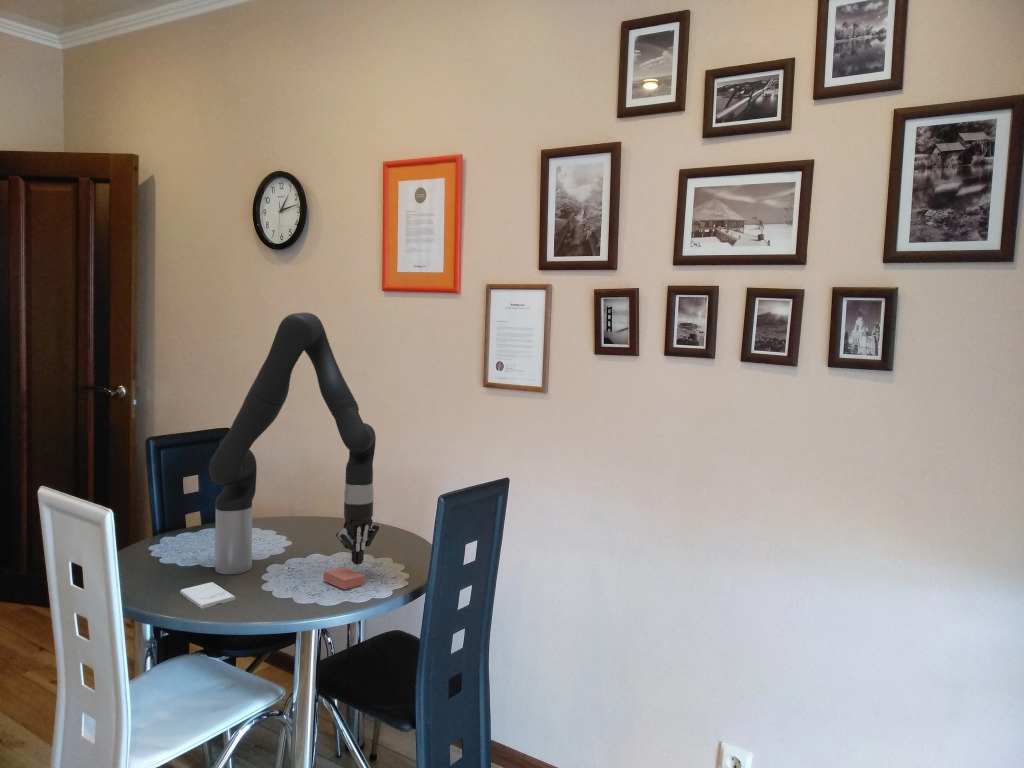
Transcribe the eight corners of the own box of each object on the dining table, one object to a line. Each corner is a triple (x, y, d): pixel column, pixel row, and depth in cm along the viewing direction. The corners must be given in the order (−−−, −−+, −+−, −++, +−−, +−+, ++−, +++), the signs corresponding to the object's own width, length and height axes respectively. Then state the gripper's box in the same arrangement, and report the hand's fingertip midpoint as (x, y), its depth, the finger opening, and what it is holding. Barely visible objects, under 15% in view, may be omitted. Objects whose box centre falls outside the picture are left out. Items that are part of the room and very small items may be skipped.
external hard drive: (213, 587, 175) (235, 602, 167) (180, 596, 169) (201, 611, 161) (213, 581, 175) (235, 595, 166) (180, 589, 169) (201, 604, 160)
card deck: (343, 575, 185) (323, 580, 180) (344, 566, 185) (323, 571, 180) (364, 584, 179) (344, 589, 174) (365, 575, 179) (344, 580, 174)
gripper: (369, 493, 188) (368, 554, 189) (329, 501, 178) (327, 566, 179) (387, 498, 183) (386, 561, 185) (347, 506, 173) (345, 573, 175)
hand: (357, 563), depth 182 cm, fingers closed
